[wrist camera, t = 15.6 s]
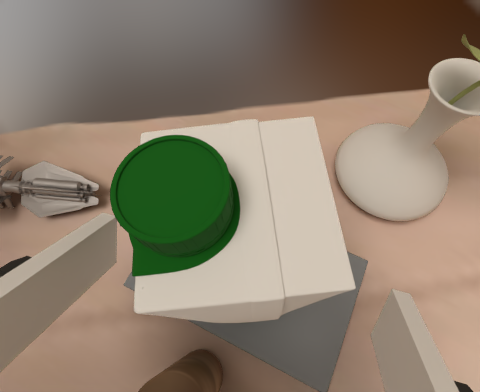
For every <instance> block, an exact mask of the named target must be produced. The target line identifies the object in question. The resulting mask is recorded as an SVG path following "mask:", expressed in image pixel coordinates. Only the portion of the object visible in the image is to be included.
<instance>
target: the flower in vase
mask: <svg viewBox="0 0 480 392" xmlns="http://www.w3.org/2000/svg"><path fill="white" fill-rule="evenodd" d="M462 43H463V44H464V45H465V46H466V47H467V48H469V49H470V51H471V53H472V54H473V55H474V56H475V57H476V58H477V59H478V60H479V61H480V50H479V49H477V48H475V47H473V46H471V45H469V44H468V42H467V39H466V36H465V35H463V37H462ZM428 83H429V88H430V95H429V99H428V101H427V104H426V106H425V108H424V109H423V111H422V113H421V114H420V116H419V117H418V119H417V120H416V121H415V123H414V124H413V125H412V126H411V127H410V128H409V127H406V126H402V125H397V124H391V123H377V124H372V125H368V126H365V127H363V128H360V129H359V130H357V131H355V132H354V133H352V134H350V135H349V136H348V137H347V138H346V139H345V140H344V141H343V142H342V144H341V145H340V147H339V149H338V151H337V155H336V159H335V171H336V175H337V179H338V181H339V184H340V186H341V187H342V189H343V191H344V192H345V194H346V195H347V196H348V197H349V198H350V200H351V201H353V202H354V203H355V204H356V205H357V206H358V207H360V208H361V209H363V210H364V211H366V212H368V213H370V214H372V215H374V216H376V217H379V218H383V219H386V220H392V221H410V220H415V219H418V218H421V217H424V216H426V215H428V214H429V213H431V212H432V211H433V210H435V209H436V208H437V206H438V205H439V204H440V203H441V201H442V199H443V197H444V195H445V193H446V190H447V186H448V179H449V177H448V169H447V165H446V163H445V160H444V158H443V156H442V154H441V153H440V151H439V150H438V149H437V147H436V146H435V145H434V144H433V143H434V142H435V141H436V139H437V138H438V137H440V136H441V135H442V134H443V133H444V132H445V131H447V130H448V129H449V128H451V127H452V126H453V125H455V124H457V123H458V122H460V121H462V120H464V119H466V118H469V117H472V116H480V63H479V62H477V61H473V60H469V59H463V58H453V59H447V60H444V61H441V62H439V63H438V64H437V65H435V66H434V67H433V68H432V70H431V72H430V74H429V79H428Z"/></svg>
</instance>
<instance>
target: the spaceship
mask: <svg viewBox="0 0 480 392" xmlns="http://www.w3.org/2000/svg"><path fill="white" fill-rule="evenodd" d="M2 157H3V156H0V158H2ZM13 158H14V157H10V156H9V157H7V158H6V159H4V160H3V161H1V162H0V168H1V167H2V166H4V165H5V164H6V163H7V162H9V161H10V160H11V159H13ZM1 171H2V170H0V173H1ZM11 173H12V171H7V172H6V173H5V174H4V176H1V175H0V208H3V206H4V205H3V203H2V202H3V201H4V202H5V204H6V205H7V206H8V208H11V209H14V208H13V207H15V206H14V205H13V203H12V201H11V199H10V198H11V197H12V196H10V194H11V192H15V193H19V194H20V195H21V204H22V205H23V206H24V207H26V208H27V209H28V210H30V211H31V212H33V213H34V214H35V215H37V216H38V217H45V216H50V215H55V214H60V213H65V212H70V211H75V210H80V209H82V208H83V207H87V206H92V205H97V204H98V198H96V197H94V196H102V195H94V194H93V192H92V191H97V190H98V189H99V185H98V184H97V183H94V182H92V181H89V180H87V179H85V178H84V177H83V176H81V175H78V174H76V173H73V172H71V171H68V170H66V169H63V168H61V167H58V166H56V165H53V164H51V163H48V162H46V161H42V162H40V163H38V164H36V165H34V166H32V167H30V168H27V169H25V170H24V171H23V172H17V173H16V175H15V176H14V178H13V179H12V180H8V178H9V176H10V175H11ZM21 175H22V180H21V181H18V180H19V178H20V176H21Z"/></svg>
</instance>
